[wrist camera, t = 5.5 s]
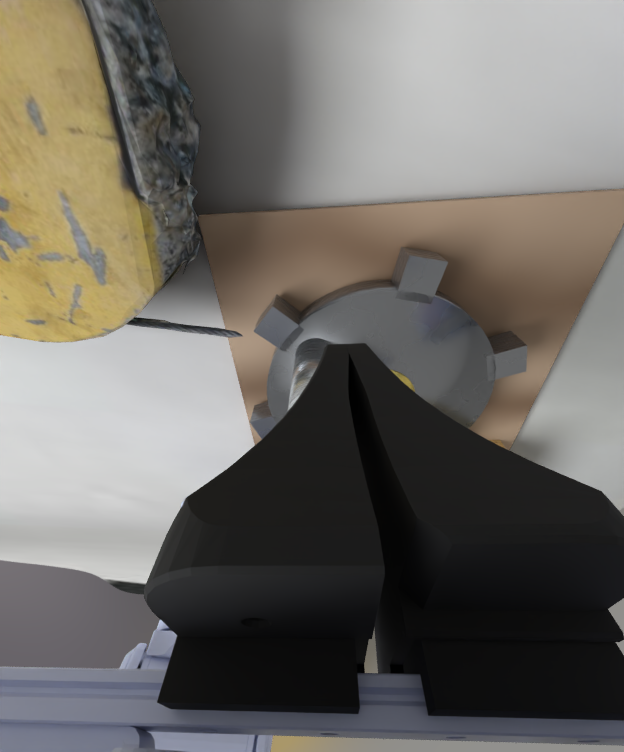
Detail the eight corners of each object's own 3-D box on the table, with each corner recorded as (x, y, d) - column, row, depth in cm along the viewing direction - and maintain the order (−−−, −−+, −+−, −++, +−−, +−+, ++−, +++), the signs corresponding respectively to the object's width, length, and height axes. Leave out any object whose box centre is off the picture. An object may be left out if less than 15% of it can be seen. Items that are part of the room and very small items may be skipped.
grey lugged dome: (553, 375, 17) (646, 460, 12) (377, 484, 23) (391, 568, 18) (364, 177, 11) (396, 188, 7) (205, 388, 18) (163, 471, 13)
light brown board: (488, 481, 24) (491, 486, 23) (267, 484, 25) (266, 489, 24) (630, 188, 12) (640, 189, 12) (201, 214, 13) (197, 216, 13)
